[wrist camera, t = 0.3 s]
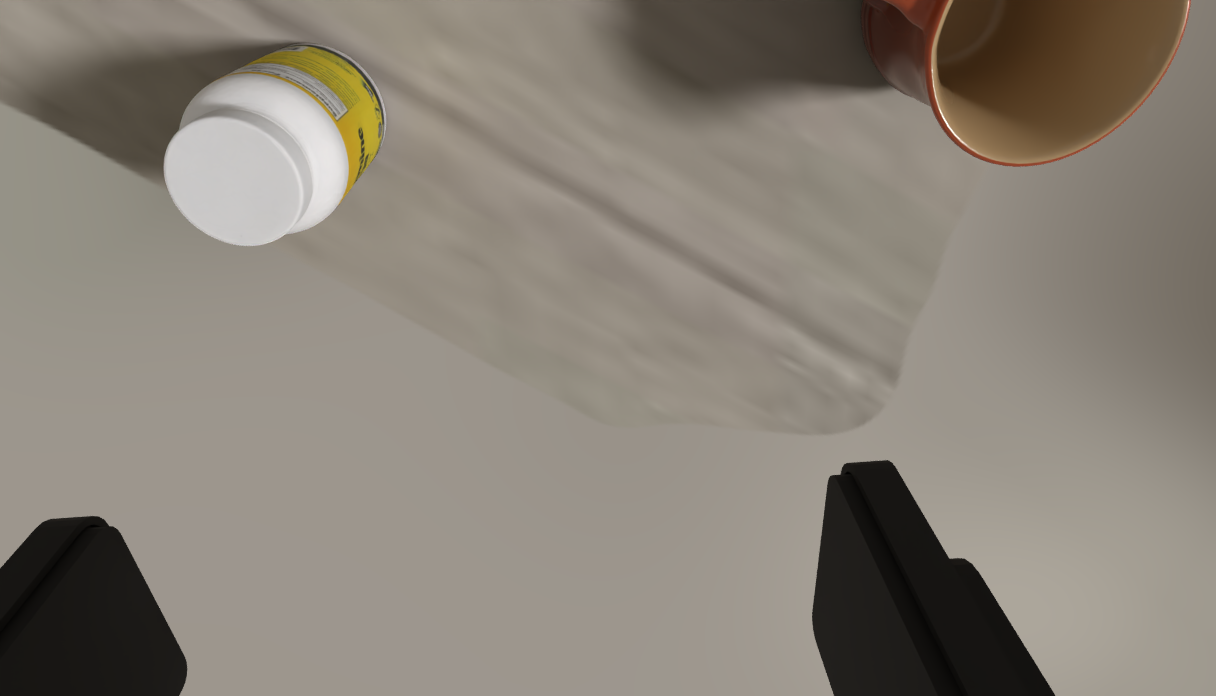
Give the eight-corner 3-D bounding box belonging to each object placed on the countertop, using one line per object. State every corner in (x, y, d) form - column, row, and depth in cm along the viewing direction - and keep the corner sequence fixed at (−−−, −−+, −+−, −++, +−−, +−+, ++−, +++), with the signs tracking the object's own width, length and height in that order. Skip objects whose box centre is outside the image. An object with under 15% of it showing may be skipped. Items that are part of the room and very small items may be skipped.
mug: (1070, -63, 33) (1252, -50, 24) (960, 126, 37) (1081, 197, 28) (830, -173, 30) (935, -203, 22) (741, 43, 35) (799, 92, 26)
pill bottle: (347, 198, 38) (271, 298, 28) (232, 119, 35) (107, 198, 26) (415, 101, 35) (357, 174, 26) (296, 9, 33) (184, 53, 24)
